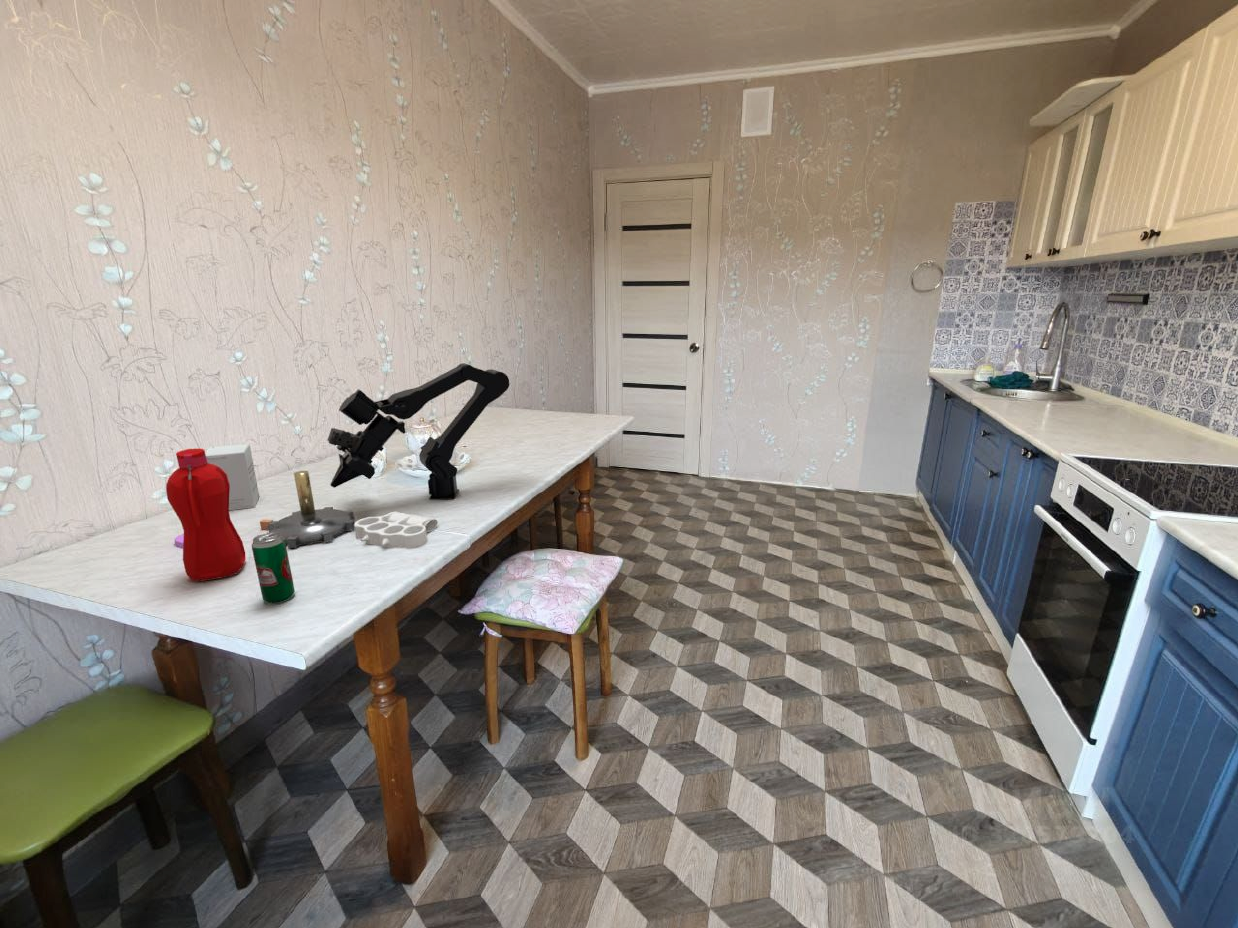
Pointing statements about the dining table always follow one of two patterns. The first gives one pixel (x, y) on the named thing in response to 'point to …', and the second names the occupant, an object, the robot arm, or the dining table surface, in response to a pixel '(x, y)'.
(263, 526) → the orange rectangular block
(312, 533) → the sprocket
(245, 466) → the supplement box
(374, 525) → the white brass knuckles
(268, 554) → the soda can
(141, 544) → the dining table surface
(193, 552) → the water bottle
